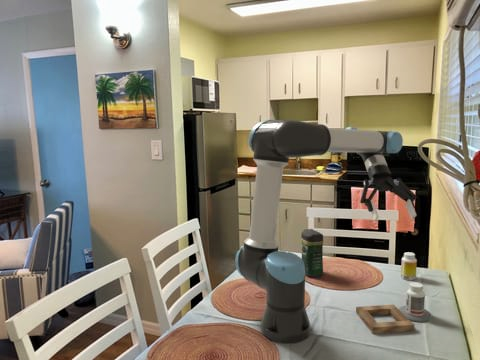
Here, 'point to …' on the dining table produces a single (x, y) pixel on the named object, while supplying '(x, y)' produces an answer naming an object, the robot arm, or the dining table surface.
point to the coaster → (423, 318)
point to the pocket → (384, 327)
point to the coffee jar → (312, 252)
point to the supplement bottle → (408, 266)
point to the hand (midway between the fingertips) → (395, 218)
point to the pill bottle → (415, 299)
